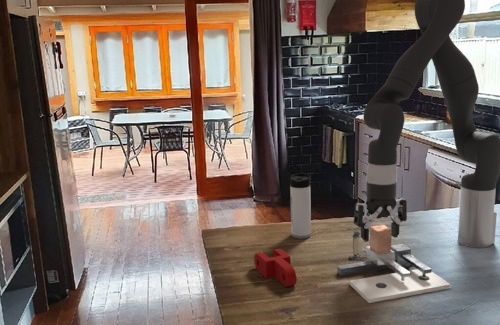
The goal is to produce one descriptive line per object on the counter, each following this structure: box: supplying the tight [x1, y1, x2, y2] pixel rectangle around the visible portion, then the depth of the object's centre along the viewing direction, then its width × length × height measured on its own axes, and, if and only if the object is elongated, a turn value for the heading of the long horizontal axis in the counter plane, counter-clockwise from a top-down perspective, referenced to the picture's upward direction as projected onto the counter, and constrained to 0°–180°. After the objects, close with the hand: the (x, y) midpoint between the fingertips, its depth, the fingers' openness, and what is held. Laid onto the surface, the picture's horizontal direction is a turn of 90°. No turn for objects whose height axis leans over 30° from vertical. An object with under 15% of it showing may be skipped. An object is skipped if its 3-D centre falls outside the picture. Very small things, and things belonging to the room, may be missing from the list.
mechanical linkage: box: [253, 248, 298, 288], centre depth 130 cm, size 16×7×5 cm, turn 22°
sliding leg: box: [365, 224, 410, 281], centre depth 127 cm, size 5×16×10 cm, turn 15°
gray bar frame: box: [336, 243, 433, 277], centre depth 127 cm, size 22×14×5 cm, turn 105°
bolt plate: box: [349, 268, 451, 304], centre depth 122 cm, size 22×10×1 cm, turn 105°
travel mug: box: [289, 172, 312, 240], centre depth 156 cm, size 6×7×20 cm
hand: (379, 238), depth 131 cm, fingers open, 8 cm apart
